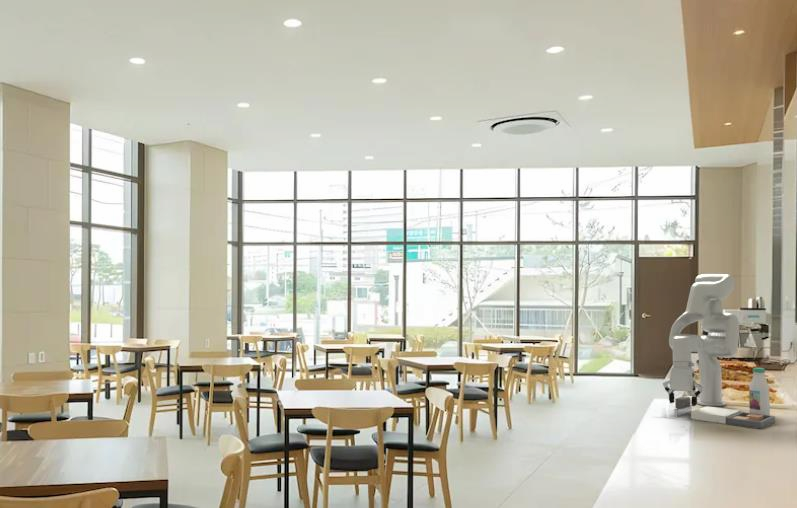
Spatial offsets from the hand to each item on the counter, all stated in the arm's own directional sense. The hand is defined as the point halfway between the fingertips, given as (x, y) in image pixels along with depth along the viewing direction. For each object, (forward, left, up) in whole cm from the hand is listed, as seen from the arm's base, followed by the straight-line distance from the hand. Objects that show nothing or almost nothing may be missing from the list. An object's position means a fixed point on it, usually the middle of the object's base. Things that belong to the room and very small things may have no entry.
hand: (682, 404), depth 311 cm
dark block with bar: (0, 0, -4) cm, 4 cm away
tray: (0, +28, -4) cm, 28 cm away
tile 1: (+5, +26, -4) cm, 26 cm away
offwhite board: (0, +14, -4) cm, 15 cm away
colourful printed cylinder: (-19, +25, -4) cm, 32 cm away
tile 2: (-3, +28, -2) cm, 29 cm away
